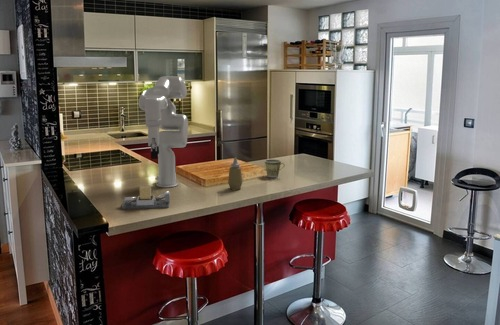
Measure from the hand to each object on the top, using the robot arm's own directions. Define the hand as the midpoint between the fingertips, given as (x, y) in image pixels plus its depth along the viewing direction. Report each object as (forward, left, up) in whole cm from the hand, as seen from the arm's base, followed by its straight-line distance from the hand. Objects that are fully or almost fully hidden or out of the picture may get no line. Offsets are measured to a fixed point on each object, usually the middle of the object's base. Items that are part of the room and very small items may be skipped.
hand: (155, 156), depth 220 cm
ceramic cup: (+21, +80, -23) cm, 85 cm away
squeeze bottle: (+19, +42, -23) cm, 51 cm away
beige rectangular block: (+4, -10, -21) cm, 24 cm away
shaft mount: (+4, -10, -23) cm, 25 cm away
